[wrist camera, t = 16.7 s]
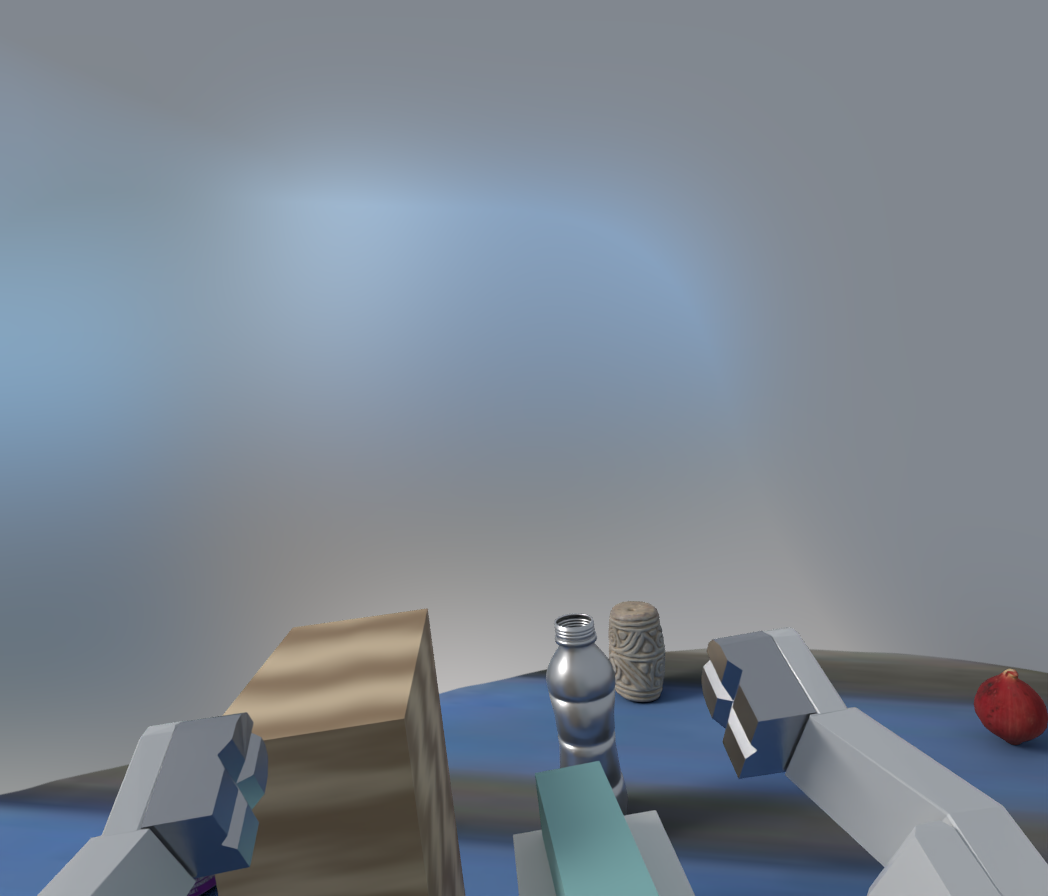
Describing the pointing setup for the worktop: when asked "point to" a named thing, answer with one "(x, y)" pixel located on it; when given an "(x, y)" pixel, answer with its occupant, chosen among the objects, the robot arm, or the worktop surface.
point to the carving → (637, 651)
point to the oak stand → (351, 765)
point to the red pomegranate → (1010, 708)
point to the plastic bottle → (584, 700)
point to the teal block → (588, 835)
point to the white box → (648, 838)
